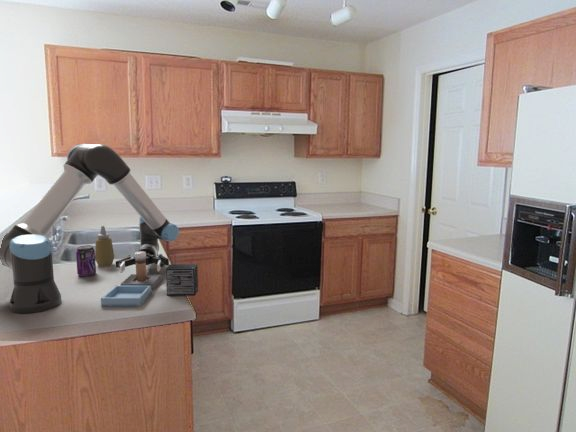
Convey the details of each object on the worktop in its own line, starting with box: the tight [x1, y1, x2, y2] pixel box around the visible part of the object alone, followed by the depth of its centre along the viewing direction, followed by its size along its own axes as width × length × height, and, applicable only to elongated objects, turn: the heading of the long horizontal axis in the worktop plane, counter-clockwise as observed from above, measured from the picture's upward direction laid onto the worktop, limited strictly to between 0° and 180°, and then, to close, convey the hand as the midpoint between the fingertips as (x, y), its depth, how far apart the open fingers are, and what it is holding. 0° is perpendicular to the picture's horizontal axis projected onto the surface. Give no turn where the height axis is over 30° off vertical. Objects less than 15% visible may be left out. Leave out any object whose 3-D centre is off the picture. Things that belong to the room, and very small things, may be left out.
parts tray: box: [100, 285, 152, 308], centre depth 149 cm, size 13×13×3 cm
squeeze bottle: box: [94, 225, 115, 268], centre depth 190 cm, size 8×8×18 cm
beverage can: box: [75, 244, 97, 277], centre depth 177 cm, size 7×7×12 cm
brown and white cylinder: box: [134, 250, 148, 281], centre depth 164 cm, size 4×4×13 cm
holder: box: [119, 273, 162, 291], centre depth 165 cm, size 12×12×2 cm
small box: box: [165, 263, 199, 297], centre depth 156 cm, size 11×6×10 cm, turn 92°
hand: (139, 268), depth 161 cm, fingers open, 13 cm apart
